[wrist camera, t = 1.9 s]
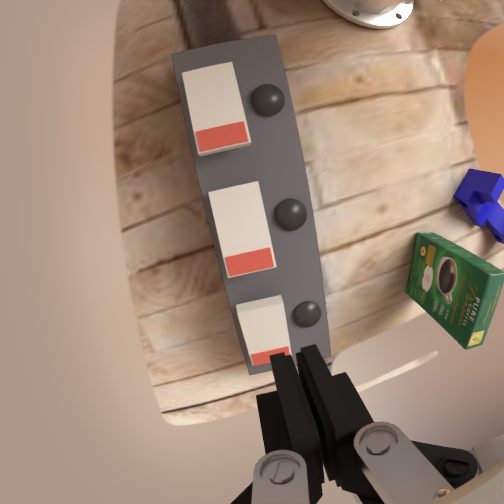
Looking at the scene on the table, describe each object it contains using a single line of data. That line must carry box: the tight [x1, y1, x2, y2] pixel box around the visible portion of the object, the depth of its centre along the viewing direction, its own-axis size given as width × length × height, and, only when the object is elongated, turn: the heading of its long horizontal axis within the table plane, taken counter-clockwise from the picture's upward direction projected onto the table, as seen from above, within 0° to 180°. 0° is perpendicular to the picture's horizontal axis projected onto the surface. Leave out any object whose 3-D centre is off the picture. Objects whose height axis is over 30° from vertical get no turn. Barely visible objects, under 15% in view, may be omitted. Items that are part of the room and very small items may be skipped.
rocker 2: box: [208, 181, 277, 278], centre depth 26 cm, size 4×7×2 cm, turn 12°
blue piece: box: [454, 169, 504, 244], centre depth 30 cm, size 12×4×6 cm, turn 54°
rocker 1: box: [182, 62, 251, 156], centre depth 23 cm, size 4×7×2 cm, turn 12°
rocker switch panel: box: [171, 35, 331, 375], centre depth 29 cm, size 9×32×4 cm, turn 12°
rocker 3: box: [236, 295, 292, 366], centre depth 29 cm, size 4×7×2 cm, turn 12°
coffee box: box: [406, 232, 504, 350], centre depth 28 cm, size 8×3×13 cm, turn 179°
